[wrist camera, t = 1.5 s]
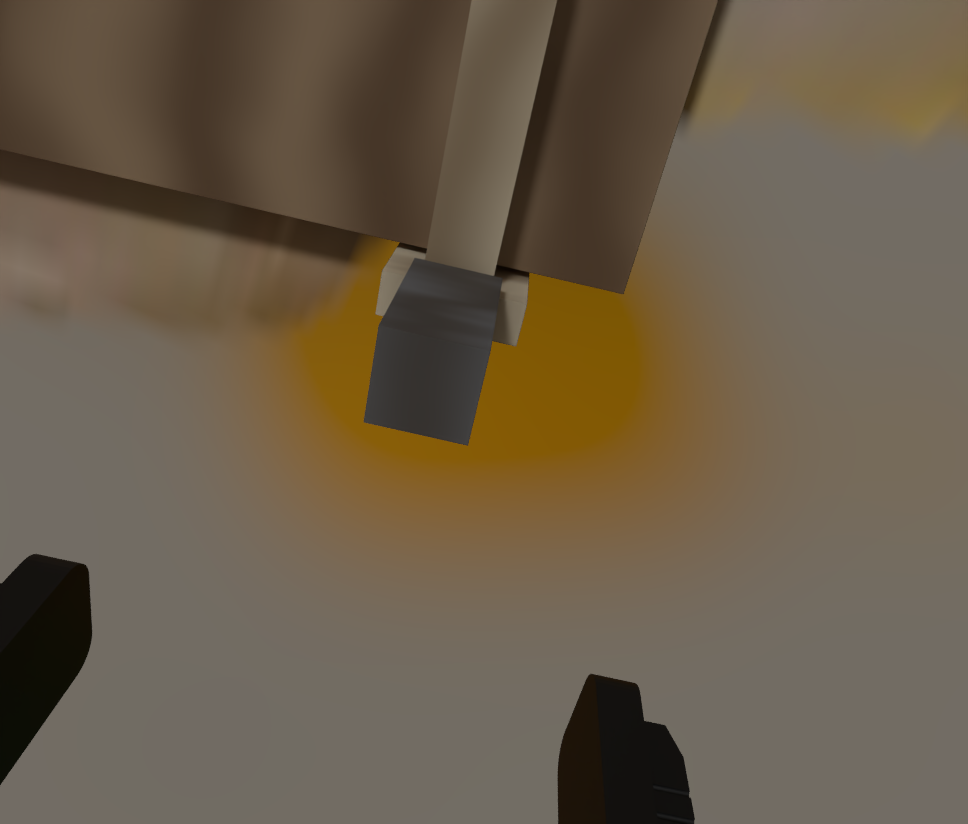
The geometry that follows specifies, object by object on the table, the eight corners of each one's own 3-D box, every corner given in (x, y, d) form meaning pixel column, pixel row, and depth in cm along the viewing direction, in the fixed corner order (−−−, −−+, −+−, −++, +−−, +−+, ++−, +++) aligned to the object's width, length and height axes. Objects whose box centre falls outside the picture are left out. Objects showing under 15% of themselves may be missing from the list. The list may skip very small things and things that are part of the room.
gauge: (612, -60, 24) (649, -97, 15) (516, 321, 30) (502, 453, 21) (457, -98, 23) (402, -159, 15) (393, 294, 30) (328, 414, 21)
